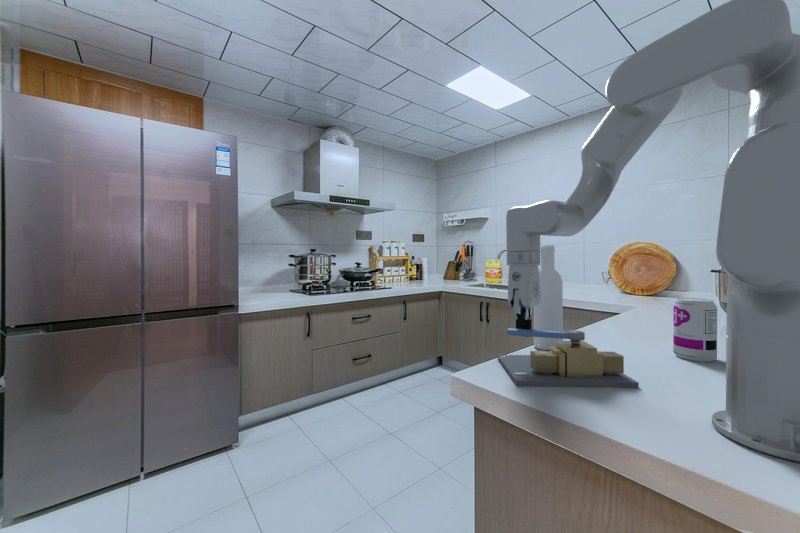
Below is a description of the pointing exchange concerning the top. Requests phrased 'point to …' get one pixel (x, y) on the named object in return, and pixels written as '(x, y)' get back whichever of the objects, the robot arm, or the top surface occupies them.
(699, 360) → the supplement can
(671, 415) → the top surface
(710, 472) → the top surface
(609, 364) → the valve
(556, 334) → the lever
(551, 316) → the bottle
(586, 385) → the base plate
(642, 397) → the top surface
